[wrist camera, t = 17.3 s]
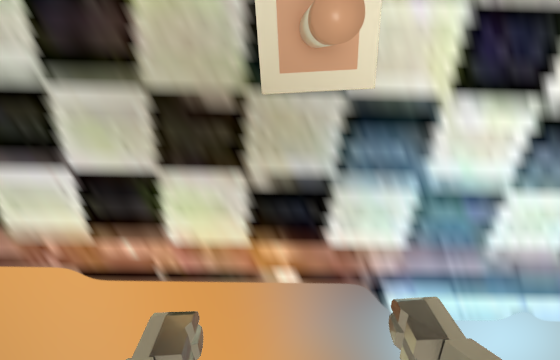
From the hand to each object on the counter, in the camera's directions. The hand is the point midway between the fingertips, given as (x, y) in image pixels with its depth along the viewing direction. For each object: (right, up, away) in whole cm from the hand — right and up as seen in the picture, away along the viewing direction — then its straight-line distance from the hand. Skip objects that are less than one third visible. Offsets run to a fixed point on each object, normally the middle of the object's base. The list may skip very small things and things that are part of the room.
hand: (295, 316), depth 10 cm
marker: (+3, +20, +17) cm, 26 cm away
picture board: (+3, +20, +18) cm, 27 cm away
